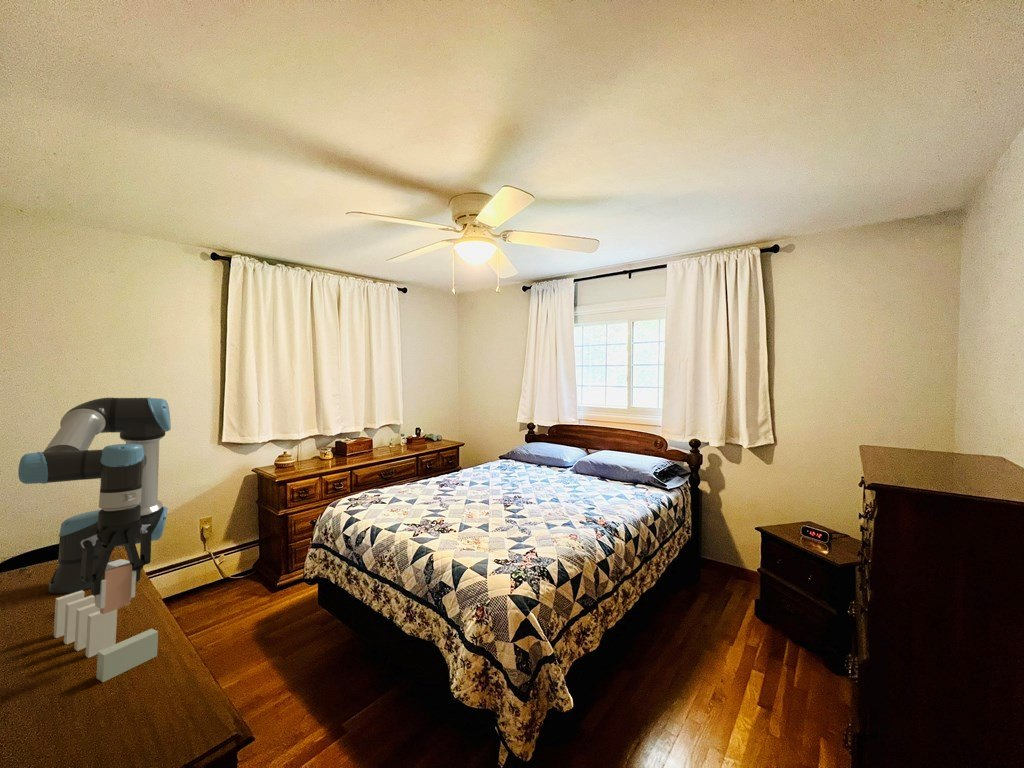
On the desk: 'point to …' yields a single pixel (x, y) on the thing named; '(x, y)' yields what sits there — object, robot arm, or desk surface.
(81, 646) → the domino
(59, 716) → the desk surface
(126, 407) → the robot arm
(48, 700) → the desk surface
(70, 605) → the domino
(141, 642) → the end block
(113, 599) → the domino
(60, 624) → the domino
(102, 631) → the domino
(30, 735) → the desk surface
